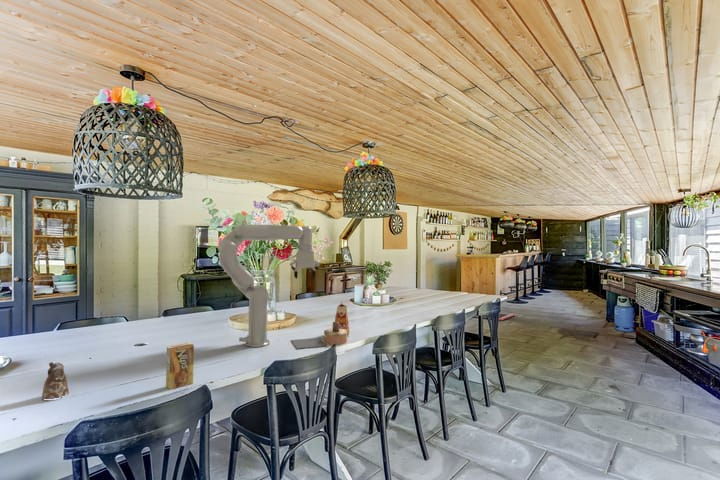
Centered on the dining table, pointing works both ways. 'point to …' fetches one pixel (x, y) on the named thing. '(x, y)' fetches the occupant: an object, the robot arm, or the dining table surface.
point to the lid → (335, 330)
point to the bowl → (335, 339)
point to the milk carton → (342, 317)
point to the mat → (308, 343)
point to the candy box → (179, 365)
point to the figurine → (55, 382)
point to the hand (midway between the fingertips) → (304, 278)
